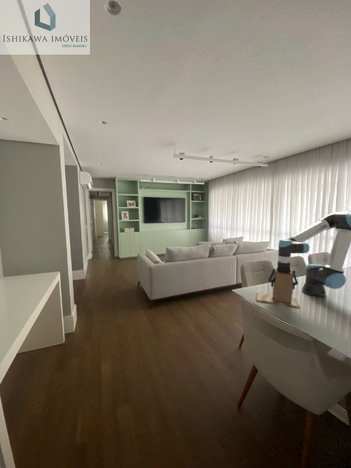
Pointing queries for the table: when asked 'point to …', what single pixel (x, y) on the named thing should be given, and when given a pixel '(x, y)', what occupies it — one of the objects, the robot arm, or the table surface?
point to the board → (271, 300)
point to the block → (283, 287)
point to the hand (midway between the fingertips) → (282, 292)
